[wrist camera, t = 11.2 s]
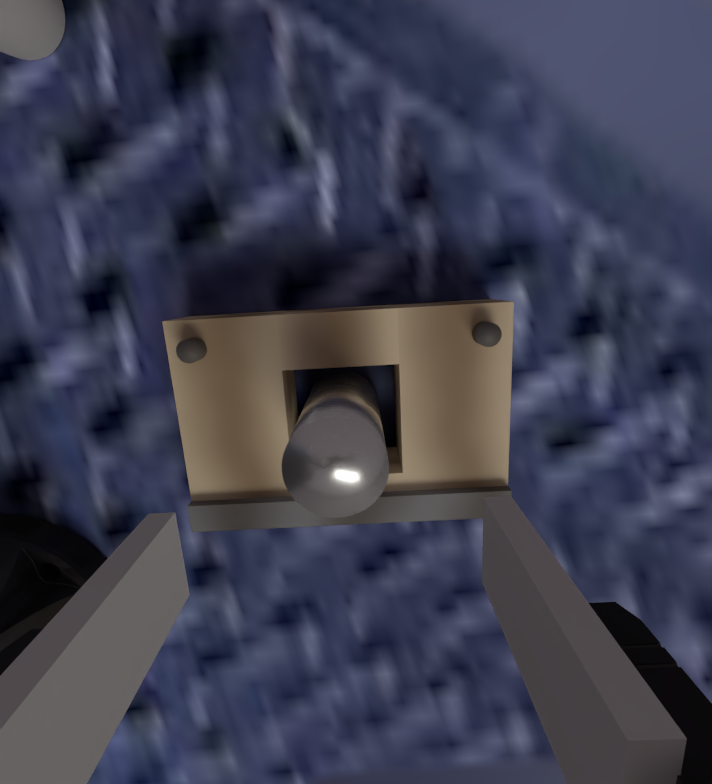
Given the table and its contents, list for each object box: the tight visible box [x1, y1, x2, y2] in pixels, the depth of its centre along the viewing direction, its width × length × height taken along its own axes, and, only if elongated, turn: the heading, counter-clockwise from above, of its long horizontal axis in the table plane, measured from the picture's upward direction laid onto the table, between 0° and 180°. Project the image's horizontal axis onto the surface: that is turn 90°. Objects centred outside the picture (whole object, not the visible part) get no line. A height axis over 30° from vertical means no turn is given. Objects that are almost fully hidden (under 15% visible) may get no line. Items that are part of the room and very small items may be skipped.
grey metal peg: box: [282, 370, 389, 518], centre depth 22 cm, size 4×4×10 cm
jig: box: [162, 299, 514, 532], centre depth 25 cm, size 18×12×5 cm, turn 93°
